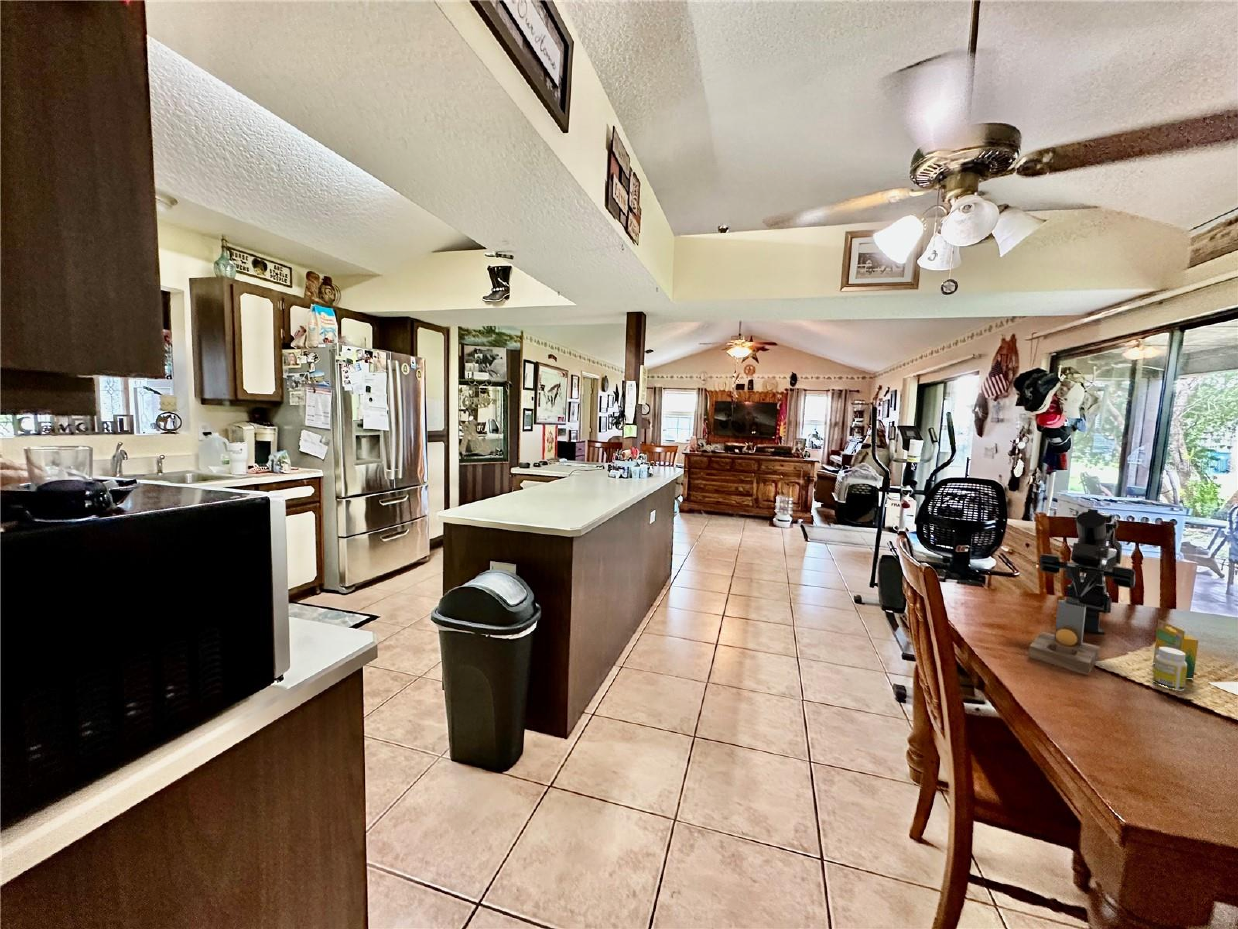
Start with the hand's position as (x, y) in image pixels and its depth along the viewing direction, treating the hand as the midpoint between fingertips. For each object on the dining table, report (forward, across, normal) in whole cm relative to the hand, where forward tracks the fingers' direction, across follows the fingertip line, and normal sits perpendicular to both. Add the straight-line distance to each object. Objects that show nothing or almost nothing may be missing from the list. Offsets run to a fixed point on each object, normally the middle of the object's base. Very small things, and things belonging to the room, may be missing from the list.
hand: (1078, 595), depth 128 cm
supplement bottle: (+18, +18, +1) cm, 25 cm away
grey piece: (+13, 0, +1) cm, 13 cm away
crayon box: (+11, +18, +8) cm, 22 cm away
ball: (+14, 0, -3) cm, 15 cm away
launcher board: (+19, 0, 0) cm, 19 cm away
